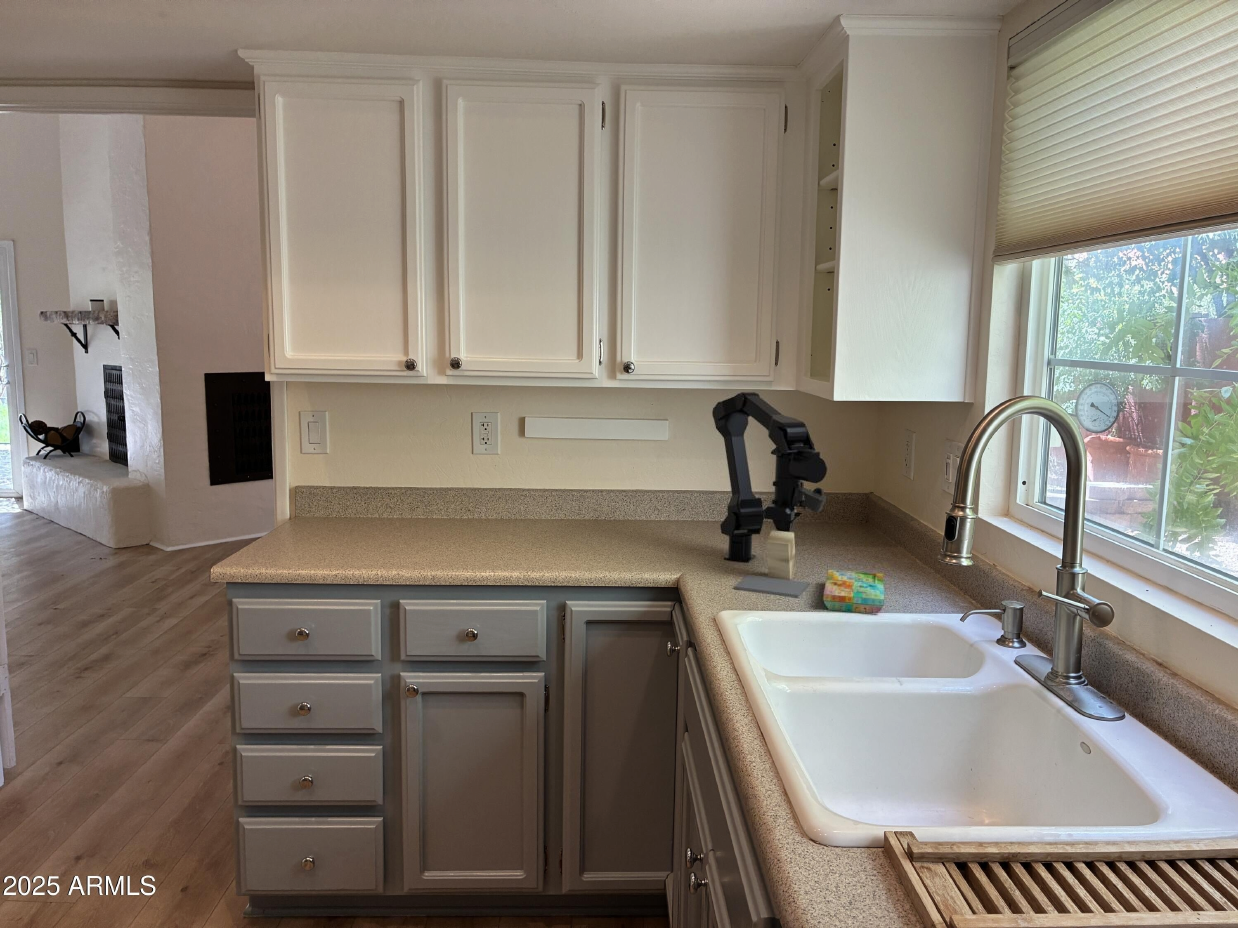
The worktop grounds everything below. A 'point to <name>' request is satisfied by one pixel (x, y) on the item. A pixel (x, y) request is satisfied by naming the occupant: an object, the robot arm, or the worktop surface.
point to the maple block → (781, 555)
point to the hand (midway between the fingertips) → (785, 544)
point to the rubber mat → (772, 586)
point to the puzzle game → (854, 591)
